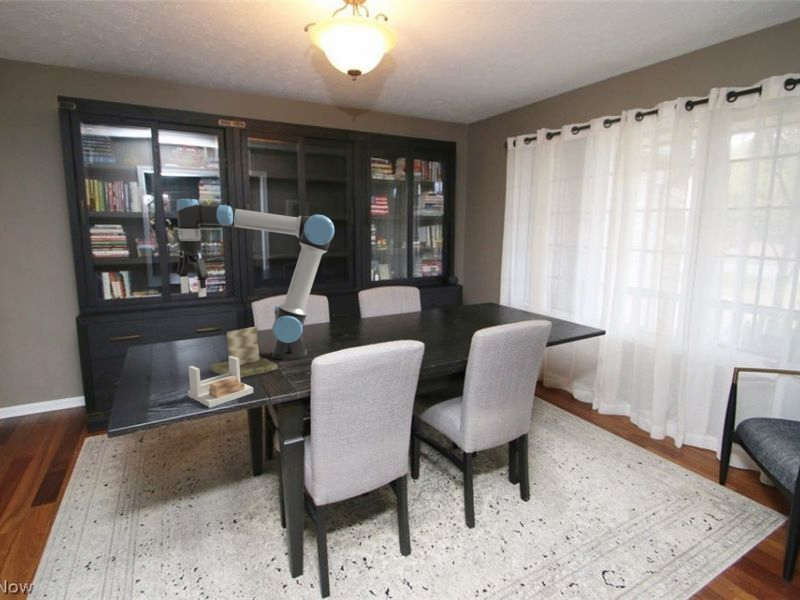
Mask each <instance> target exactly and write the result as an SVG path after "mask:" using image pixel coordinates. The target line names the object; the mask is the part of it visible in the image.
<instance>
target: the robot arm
mask: <svg viewBox="0 0 800 600" xmlns="http://www.w3.org/2000/svg"><path fill="white" fill-rule="evenodd" d="M176 218H177V229H178V230H177V234H178V239H179V241H178V246H179V250H180V251H179V252H178V253H179V254H178V262H177V270H176V274H177V276H178V277H179V279H180V293H181V294H188V293H190V288H189V287H190V285H189V277H188V276H189V273H188V272H189V270H190V267H191V266H192V267H193V269H194V272H195V274H196V277H197V279H196V281H197V293H198V294H197V295H198V298H204V297H207V287H206V285H207V283H206V280H207V279H209V278H210V275H209V271H208V269H207V267H206V262H205V260H204V254H203V253H199V251H201V250H202V242H201V241H200V240H201V238H202V237H201V226H200V225H202V226H204V225H205V226H226V227H233V228H234V227H235V228H243V229H249V230H255V231H256V230H257V231H264V232H270V233H279V234H283V235H284V234H287V235H292V236H296V237H297V238H298V239H300V240H299V245H300V247H301V249H300V252H299V255H298V259H297V262H296V266H295V269H294V271H293V275H292V277H291V281H290V285H289V287H288V290H287V294H286V297H285V300H284V303H281V304H280V305H276V306H275V307H274V322H273V324H272V332H273V335H274V337H275V341H274V345H273V349H272V357H273V358H274V359H275V360H276V359H277V360H281V361H283V360H284V361H286V360H290V361H291V360H297V359H301V358H304V357H305V356H307V354H308V353H307V351H308V349H307V347H306V343H305V341H304V339H303V332H304V331H303V329H304V328H303V327H304V326H305V325H304V323H305V321H306V318H307V314H308V313H307V311H306V307H307V303H308V300H309V298H310V297H309V296H310V294H311V291H312V290H311V289H312V288H313V284H314V281H315V277H316V274H317V272H318V268H319V266H320V262H321V259H322V256H323V254H326V253H327V252H328V250H329V247H330V244H331V241H332V239H333V237H334V234H335V226H334V223H333V222H332V220H331V219H330V218H329V217H328V216H325V215H322V214H313V215H311V216H309V215H308V216H306V215H299V216H298V217H295V216H288V215H282V214H275V213H274V214H273V213H268V212H260V211H254V210H246V209H240V208H234V207H233V208H232V207H231V205H225V204H219V205H218V204H211V205H210V204H199V200H198V199H195V198H194V199H193V198H179V199H177V200H176Z"/></svg>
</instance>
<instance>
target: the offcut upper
mask: <svg viewBox="0 0 800 600" xmlns="http://www.w3.org/2000/svg"><path fill="white" fill-rule="evenodd" d="M238 385H239V381H238V379H236V378H233V377H230V378H227V379H223V380H220V381H217V382H213V383H210V389H211V390H213V391H215V392H219V391H222V390H225V389H228V388H231V387H234V386H238Z"/></svg>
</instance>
